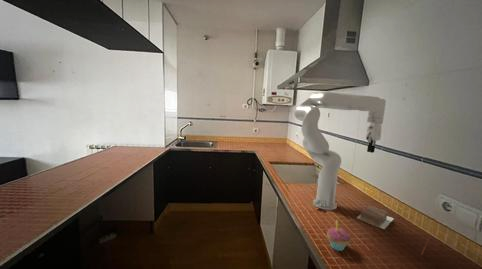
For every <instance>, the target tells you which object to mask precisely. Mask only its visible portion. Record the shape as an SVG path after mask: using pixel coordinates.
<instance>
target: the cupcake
mask: <svg viewBox="0 0 482 269" xmlns="http://www.w3.org/2000/svg"><path fill="white" fill-rule="evenodd" d="M338 226H339V221H338V219H336V220H335V227H331V228H329V229H327V231H326V237H327V239H328V240H329V244H330V247H331V248H332V249H334V250H335V251H339V252H342V251H344V249H345V248H346V247H347V245H350V243H351V236H350V234H348V232H347V231H345V229H344V228H343V229H342V228H340V227H338Z"/></svg>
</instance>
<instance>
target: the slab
mask: <svg viewBox="0 0 482 269" xmlns="http://www.w3.org/2000/svg"><path fill="white" fill-rule="evenodd" d="M360 215H361V216H360V219H359V221H362V222H365V223H367V224H369V225H371V226H373V227H377V228H380V226H381V225H382V224H383V223H384V221H385V220H386V219H387V216H388V211H385V210H383V209H380V208H377V207H374V206H371V205H369V206H367V207H366V208H364V209H363V210H362V211H360Z"/></svg>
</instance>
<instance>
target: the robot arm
mask: <svg viewBox="0 0 482 269" xmlns="http://www.w3.org/2000/svg"><path fill="white" fill-rule="evenodd" d="M386 103H387V101H386V99H385V98H380V97H379V96H373V95H372V96H370V95H359V94H351V93H349V94H348V93H339V92H332V91H320V92H314V93H313V94H312V95H310V96H309V97H307V98H306V99H305V100H304V101H302V102H301V103H300V104H298V106H296V108H295V110H294V117H295V118H296V119H297V120H298V121H300V122H302V123H301V134H302V136H303V139H302V146H303V148H304V150H305V151H306V152H307V154H308V156H310V158H311V160H313V161H314V162H315V163H316V164H319V165H321V168H320V170H319V173H318V180H317V189H316V197H315V198H314V199H313V201H312V205H313V206H315V207H317V208H319V209H321V210H326V211H334V210H336V209H337V207H338V205H337V204H336V203H335V199H336V191H337V190H336V189H337V184H338V175H339V170H340V168H341V164H342V157H341V156H340V154H338V153H337V152H336V151H333V150H330V144H329V142H328V140H327V139H326V138H325V136H324V135H323V133H322V132H321V130H320V128H319V120H320V117H321V110H320V109H329V110H330V109H331V110H340V111H359V112H360V111H361V112H367V113H368V114H367V119H366V120H367V121H366V123H367V128H366V133H365V140H367V148H366V149H367V150H366V151H367V153H375V149H376V143H377V141H380V140H381V137H382V125H383V124H384V123H383V122H384V117H385V110H386Z"/></svg>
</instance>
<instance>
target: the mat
mask: <svg viewBox="0 0 482 269" xmlns="http://www.w3.org/2000/svg"><path fill="white" fill-rule="evenodd" d="M360 216H361V214H359V215H358V216H357V217H356V219H358V220H360ZM394 219H395V218H393V217H391V216H388V215H387V219H386V220H385V221H384V223H383V224H382V225H381V226H380V227H379V228H380V229H383V230H385V229H386V228H387V227H388V226H389V225H390V224H391V223H392V221H393V220H394Z"/></svg>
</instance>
